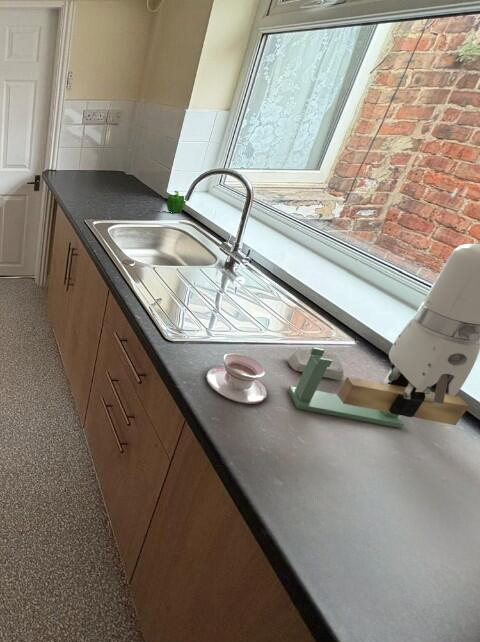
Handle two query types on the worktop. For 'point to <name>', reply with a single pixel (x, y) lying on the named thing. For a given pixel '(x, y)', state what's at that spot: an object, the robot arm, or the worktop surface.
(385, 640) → the worktop surface
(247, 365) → the teacup
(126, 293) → the worktop surface
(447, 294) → the robot arm
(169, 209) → the bell pepper
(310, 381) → the hanger stand
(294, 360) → the grey stone block
